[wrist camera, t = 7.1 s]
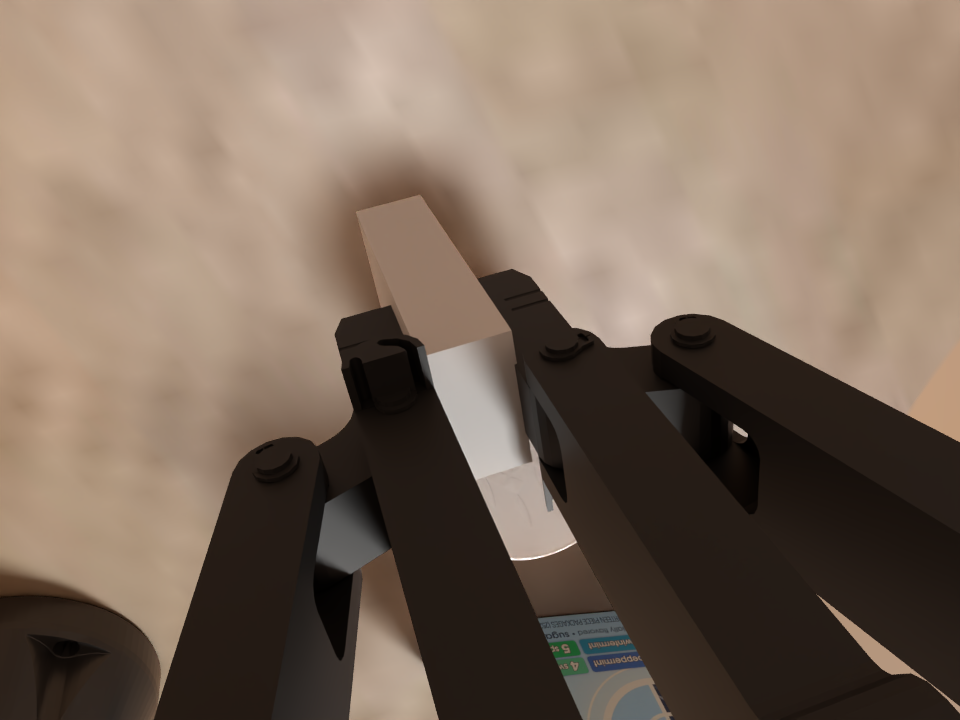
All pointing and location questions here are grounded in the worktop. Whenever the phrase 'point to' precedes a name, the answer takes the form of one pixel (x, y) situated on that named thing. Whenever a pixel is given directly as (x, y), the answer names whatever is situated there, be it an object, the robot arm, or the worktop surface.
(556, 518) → the white cup
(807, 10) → the worktop surface
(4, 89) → the worktop surface
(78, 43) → the worktop surface
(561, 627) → the gum box
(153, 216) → the worktop surface
